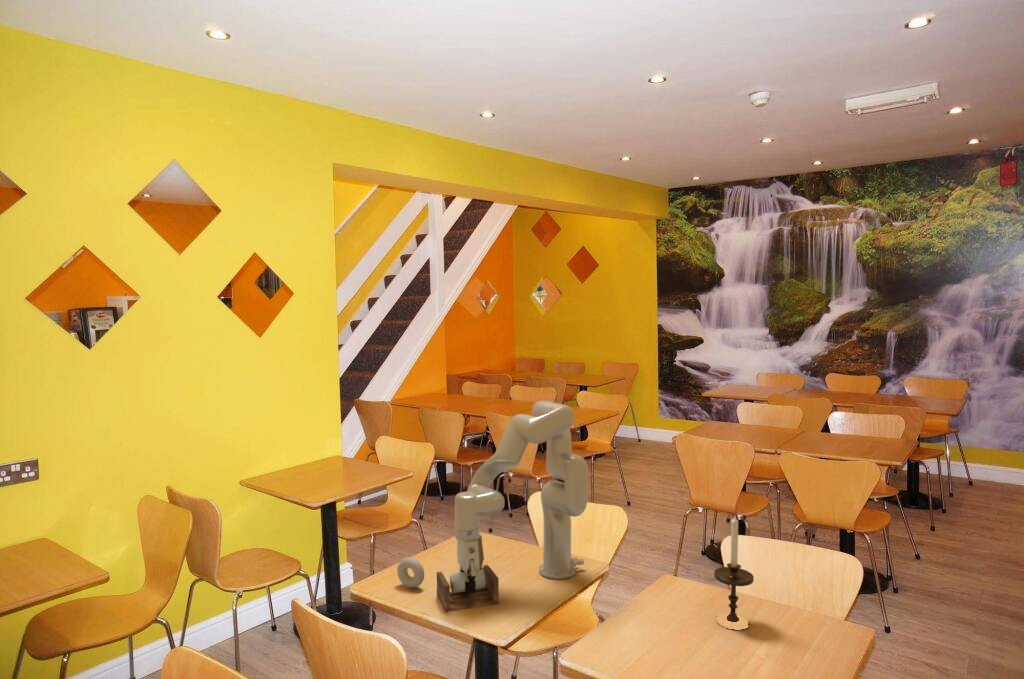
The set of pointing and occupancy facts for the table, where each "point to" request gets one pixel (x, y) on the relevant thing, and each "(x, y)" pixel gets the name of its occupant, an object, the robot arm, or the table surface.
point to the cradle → (468, 600)
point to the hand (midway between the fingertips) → (467, 588)
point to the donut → (415, 567)
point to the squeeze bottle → (480, 551)
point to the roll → (459, 580)
